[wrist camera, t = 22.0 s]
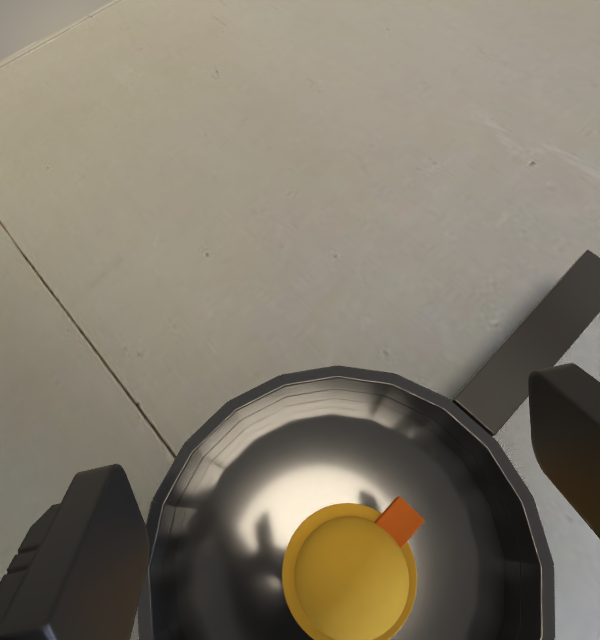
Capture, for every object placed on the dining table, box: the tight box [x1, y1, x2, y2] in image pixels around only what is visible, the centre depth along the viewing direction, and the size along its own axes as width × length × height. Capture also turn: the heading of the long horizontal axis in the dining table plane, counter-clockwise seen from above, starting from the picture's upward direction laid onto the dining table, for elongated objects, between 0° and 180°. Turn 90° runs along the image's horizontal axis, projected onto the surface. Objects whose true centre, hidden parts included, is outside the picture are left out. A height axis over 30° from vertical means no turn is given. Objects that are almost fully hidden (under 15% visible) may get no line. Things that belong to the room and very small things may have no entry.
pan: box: [138, 366, 555, 640], centre depth 25 cm, size 17×17×5 cm
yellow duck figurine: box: [282, 496, 425, 640], centre depth 22 cm, size 6×5×10 cm
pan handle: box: [451, 250, 600, 436], centre depth 27 cm, size 11×2×1 cm, turn 135°
